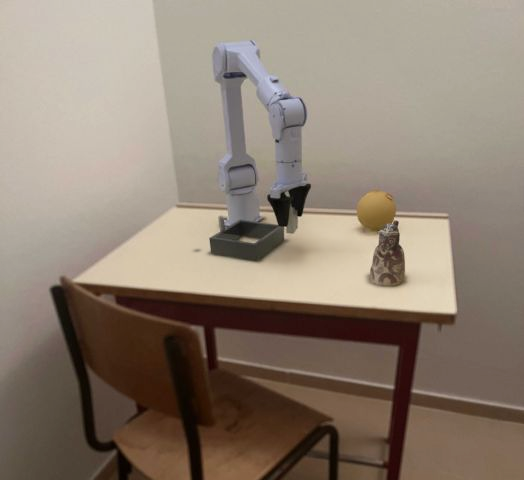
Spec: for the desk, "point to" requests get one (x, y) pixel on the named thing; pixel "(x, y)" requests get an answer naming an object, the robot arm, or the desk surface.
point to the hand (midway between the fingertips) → (290, 220)
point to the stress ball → (376, 210)
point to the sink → (230, 247)
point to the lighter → (292, 221)
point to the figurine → (388, 257)
